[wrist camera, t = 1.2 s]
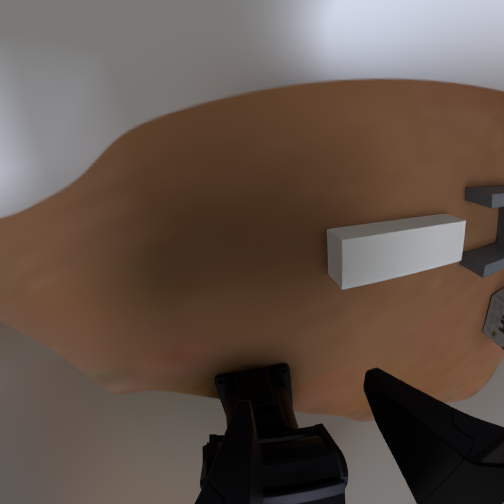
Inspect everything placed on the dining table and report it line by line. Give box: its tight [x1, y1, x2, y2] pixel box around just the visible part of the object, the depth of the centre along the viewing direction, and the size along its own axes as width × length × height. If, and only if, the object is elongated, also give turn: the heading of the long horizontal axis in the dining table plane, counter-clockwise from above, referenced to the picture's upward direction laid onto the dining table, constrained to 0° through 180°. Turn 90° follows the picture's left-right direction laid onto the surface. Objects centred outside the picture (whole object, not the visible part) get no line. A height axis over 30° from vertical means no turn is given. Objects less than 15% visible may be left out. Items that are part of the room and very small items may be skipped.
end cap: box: [460, 186, 504, 277], centre depth 20 cm, size 8×8×4 cm
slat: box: [327, 213, 466, 290], centre depth 19 cm, size 4×12×3 cm, turn 97°
